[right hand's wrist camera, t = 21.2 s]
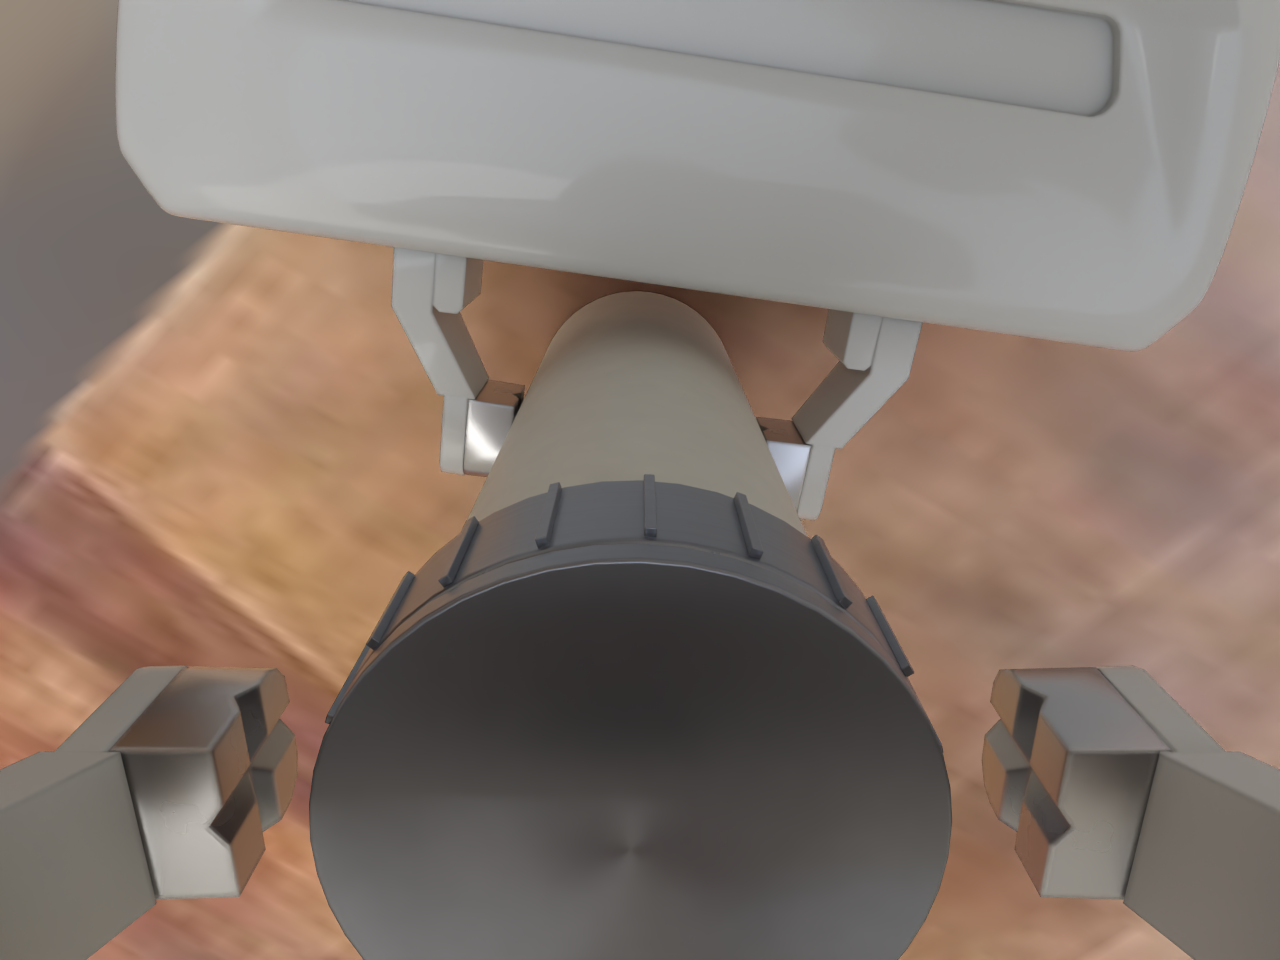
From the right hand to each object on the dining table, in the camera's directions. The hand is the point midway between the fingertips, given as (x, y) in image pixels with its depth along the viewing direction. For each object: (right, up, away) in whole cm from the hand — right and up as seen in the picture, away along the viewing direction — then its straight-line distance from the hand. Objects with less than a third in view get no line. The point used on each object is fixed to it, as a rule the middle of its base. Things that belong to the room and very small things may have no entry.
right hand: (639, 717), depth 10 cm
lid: (0, -1, -2) cm, 2 cm away
